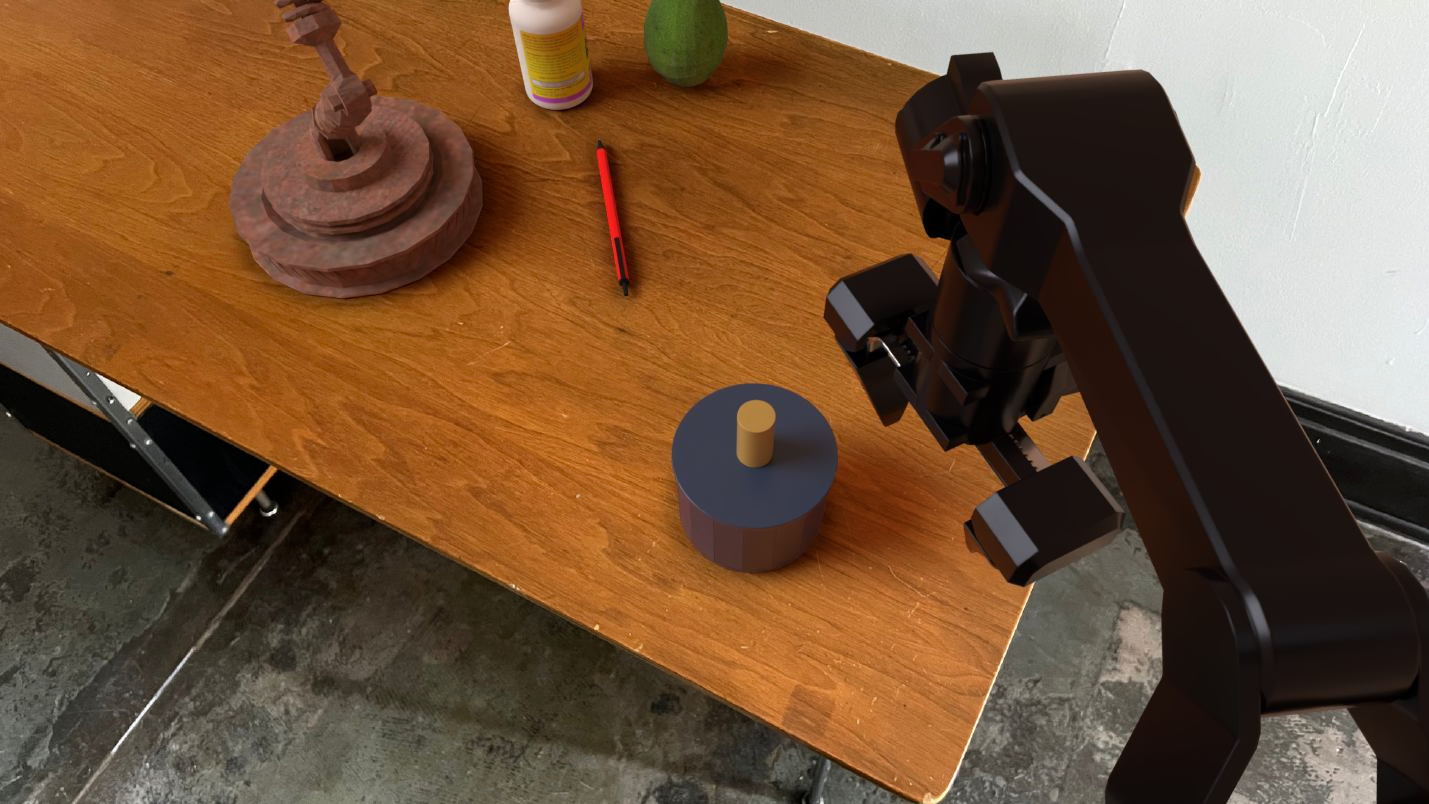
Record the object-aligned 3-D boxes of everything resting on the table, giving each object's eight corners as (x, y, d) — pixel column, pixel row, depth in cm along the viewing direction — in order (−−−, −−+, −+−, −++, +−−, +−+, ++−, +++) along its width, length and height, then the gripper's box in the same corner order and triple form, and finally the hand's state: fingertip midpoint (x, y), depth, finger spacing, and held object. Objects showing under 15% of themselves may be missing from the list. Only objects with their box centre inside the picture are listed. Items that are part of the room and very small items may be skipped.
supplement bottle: (605, 98, 94) (589, -21, 84) (543, 122, 93) (519, 3, 82) (575, 60, 98) (557, -60, 87) (515, 82, 96) (488, -37, 85)
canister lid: (867, 493, 63) (879, 450, 58) (716, 562, 60) (715, 523, 56) (787, 369, 68) (792, 321, 64) (645, 428, 66) (639, 382, 61)
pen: (621, 299, 81) (620, 290, 80) (594, 143, 91) (593, 134, 90) (632, 297, 81) (630, 288, 80) (604, 142, 91) (603, 133, 90)
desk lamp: (387, 61, 98) (210, -443, 64) (548, 252, 84) (429, -266, 50) (184, 147, 91) (-131, -364, 58) (322, 370, 77) (10, -135, 44)
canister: (849, 535, 69) (861, 486, 63) (718, 596, 67) (718, 552, 60) (780, 424, 74) (785, 368, 68) (656, 477, 72) (650, 425, 65)
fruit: (701, 114, 93) (699, 4, 83) (632, 88, 95) (621, -23, 85) (741, 68, 97) (743, -43, 87) (673, 43, 99) (667, -68, 89)
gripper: (1281, 408, 41) (1145, 558, 54) (1019, 135, 50) (958, 320, 63) (1066, 514, 38) (979, 644, 51) (831, 206, 47) (808, 383, 60)
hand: (932, 482), depth 57 cm, fingers open, 9 cm apart
